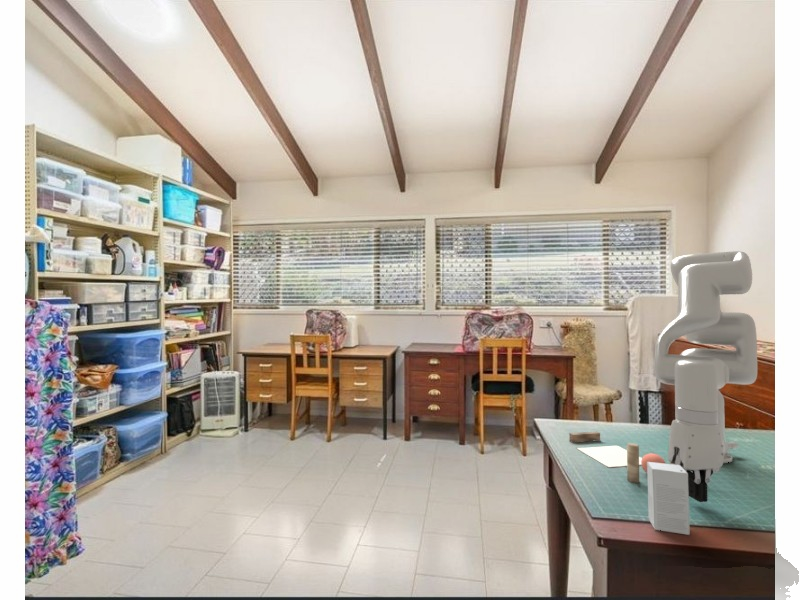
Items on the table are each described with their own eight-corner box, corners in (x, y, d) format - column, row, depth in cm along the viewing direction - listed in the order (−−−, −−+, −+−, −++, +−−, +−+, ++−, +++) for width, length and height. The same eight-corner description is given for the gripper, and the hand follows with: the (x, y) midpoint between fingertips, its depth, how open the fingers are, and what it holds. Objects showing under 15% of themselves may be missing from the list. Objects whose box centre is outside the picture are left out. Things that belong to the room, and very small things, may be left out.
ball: (655, 470, 102) (654, 450, 102) (672, 479, 96) (671, 457, 97) (636, 471, 101) (635, 450, 102) (652, 480, 96) (651, 458, 96)
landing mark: (617, 446, 120) (617, 445, 120) (653, 464, 106) (653, 463, 106) (576, 448, 117) (576, 448, 117) (608, 467, 104) (608, 467, 104)
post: (633, 478, 97) (633, 442, 98) (641, 482, 95) (641, 446, 95) (624, 478, 97) (624, 443, 97) (632, 483, 94) (632, 447, 95)
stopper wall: (596, 439, 126) (596, 431, 126) (600, 440, 125) (600, 433, 125) (569, 440, 124) (569, 433, 125) (572, 442, 123) (572, 434, 123)
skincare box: (681, 524, 77) (680, 464, 77) (690, 536, 73) (689, 473, 73) (647, 518, 79) (646, 460, 79) (653, 530, 75) (652, 469, 75)
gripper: (708, 409, 89) (709, 488, 89) (652, 412, 87) (654, 493, 86) (742, 419, 82) (743, 504, 81) (682, 422, 79) (683, 510, 79)
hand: (697, 498), depth 84 cm, fingers closed
